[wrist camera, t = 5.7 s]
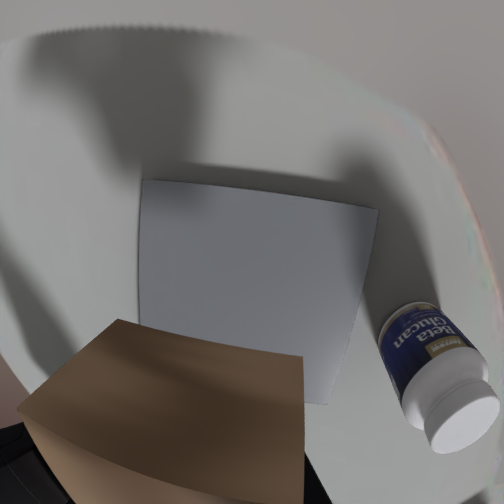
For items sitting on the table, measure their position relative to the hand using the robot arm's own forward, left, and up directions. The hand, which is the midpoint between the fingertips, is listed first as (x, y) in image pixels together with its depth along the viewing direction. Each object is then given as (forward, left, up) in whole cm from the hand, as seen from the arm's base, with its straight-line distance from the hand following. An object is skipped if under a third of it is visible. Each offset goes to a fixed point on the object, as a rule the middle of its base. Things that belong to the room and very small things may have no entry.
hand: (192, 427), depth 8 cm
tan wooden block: (0, 0, -1) cm, 1 cm away
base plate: (0, 0, -11) cm, 11 cm away
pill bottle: (+12, -1, -11) cm, 17 cm away
